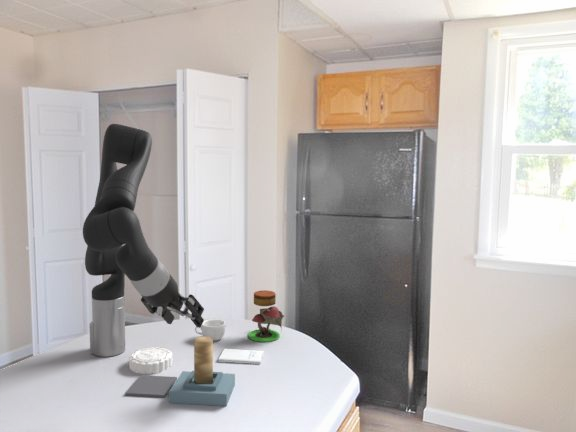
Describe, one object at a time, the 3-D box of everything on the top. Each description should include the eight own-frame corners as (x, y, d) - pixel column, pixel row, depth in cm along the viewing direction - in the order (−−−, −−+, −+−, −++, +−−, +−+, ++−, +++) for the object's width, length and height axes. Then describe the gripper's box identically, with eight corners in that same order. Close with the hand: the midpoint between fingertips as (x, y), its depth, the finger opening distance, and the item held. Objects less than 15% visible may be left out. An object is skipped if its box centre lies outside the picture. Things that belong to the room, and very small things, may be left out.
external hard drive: (224, 353, 146) (264, 355, 144) (218, 364, 137) (260, 366, 136) (224, 348, 145) (264, 350, 144) (218, 358, 137) (260, 361, 136)
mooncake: (181, 365, 135) (180, 353, 134) (143, 379, 126) (143, 366, 126) (158, 353, 143) (158, 342, 143) (121, 365, 134) (121, 353, 134)
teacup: (225, 334, 160) (225, 318, 159) (225, 342, 152) (225, 326, 152) (195, 335, 159) (195, 319, 158) (194, 343, 151) (194, 327, 150)
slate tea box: (169, 402, 113) (169, 387, 113) (182, 382, 124) (182, 367, 124) (226, 406, 112) (226, 390, 112) (234, 384, 123) (235, 370, 123)
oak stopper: (192, 385, 116) (191, 343, 115) (196, 377, 121) (196, 336, 119) (210, 386, 116) (210, 343, 114) (214, 378, 120) (214, 337, 119)
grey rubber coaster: (125, 395, 117) (125, 393, 117) (140, 377, 127) (140, 375, 127) (164, 397, 116) (164, 395, 116) (177, 379, 126) (176, 377, 126)
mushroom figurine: (271, 346, 150) (271, 300, 148) (239, 337, 157) (240, 294, 155) (290, 335, 160) (291, 292, 158) (260, 327, 167) (261, 286, 165)
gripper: (187, 269, 101) (217, 312, 112) (136, 266, 107) (169, 307, 118) (171, 297, 96) (204, 339, 107) (119, 292, 102) (155, 333, 113)
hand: (185, 322), depth 112 cm, fingers open, 8 cm apart
